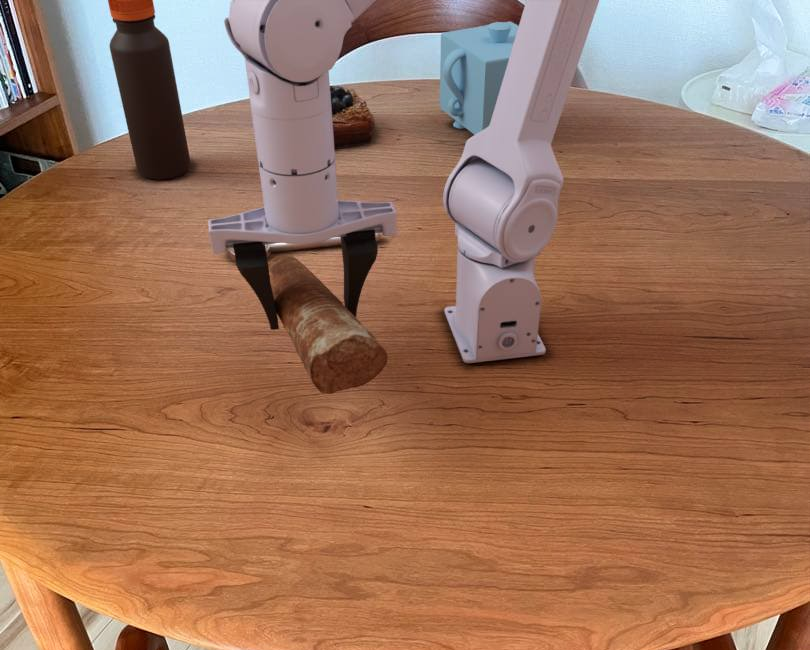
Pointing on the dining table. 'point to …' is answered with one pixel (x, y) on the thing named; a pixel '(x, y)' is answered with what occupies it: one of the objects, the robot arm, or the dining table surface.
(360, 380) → the brown wooden log
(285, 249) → the spoon
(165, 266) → the dining table surface
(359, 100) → the pastry
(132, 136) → the bottle
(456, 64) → the teapot
